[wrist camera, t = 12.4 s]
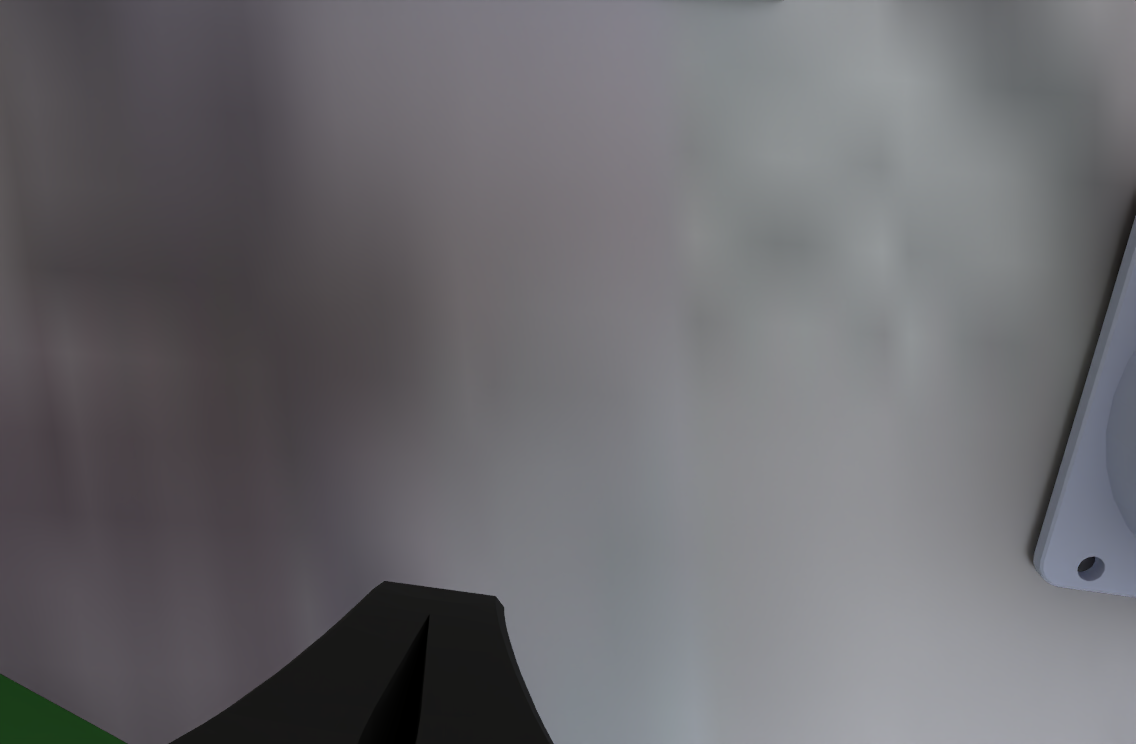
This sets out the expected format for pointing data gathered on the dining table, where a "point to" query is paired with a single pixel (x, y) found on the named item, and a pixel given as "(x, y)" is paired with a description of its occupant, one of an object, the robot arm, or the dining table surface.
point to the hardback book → (42, 720)
